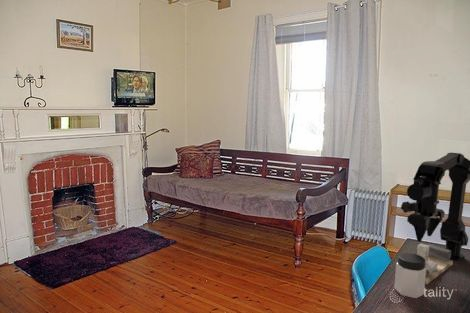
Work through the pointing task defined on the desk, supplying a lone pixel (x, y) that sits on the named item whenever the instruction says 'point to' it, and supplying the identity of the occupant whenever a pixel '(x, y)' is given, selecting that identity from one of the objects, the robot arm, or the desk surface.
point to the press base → (438, 261)
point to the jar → (410, 275)
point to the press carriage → (426, 258)
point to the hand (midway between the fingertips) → (424, 238)
